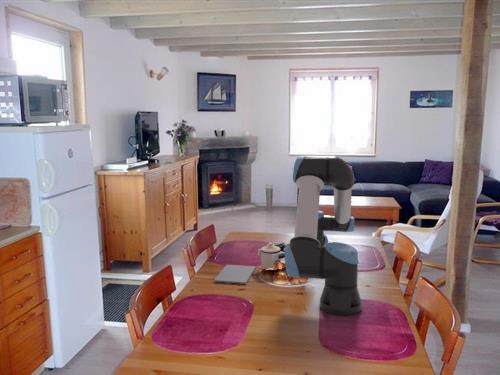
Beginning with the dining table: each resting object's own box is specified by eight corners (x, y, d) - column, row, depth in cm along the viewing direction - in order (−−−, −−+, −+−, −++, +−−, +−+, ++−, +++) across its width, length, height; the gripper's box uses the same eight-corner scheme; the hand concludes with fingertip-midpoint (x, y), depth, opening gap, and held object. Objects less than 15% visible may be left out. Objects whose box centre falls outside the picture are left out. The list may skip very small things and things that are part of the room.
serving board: (246, 284, 184) (246, 282, 184) (214, 282, 187) (214, 280, 187) (255, 268, 203) (255, 266, 203) (226, 266, 206) (226, 264, 206)
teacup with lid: (278, 272, 195) (277, 246, 193) (258, 270, 198) (258, 245, 196) (284, 263, 206) (284, 239, 204) (266, 262, 209) (265, 238, 207)
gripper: (317, 259, 203) (281, 269, 190) (286, 248, 220) (250, 257, 207) (318, 243, 202) (281, 252, 188) (286, 233, 219) (250, 242, 205)
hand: (265, 255), depth 198 cm, fingers closed on teacup with lid, 9 cm apart
